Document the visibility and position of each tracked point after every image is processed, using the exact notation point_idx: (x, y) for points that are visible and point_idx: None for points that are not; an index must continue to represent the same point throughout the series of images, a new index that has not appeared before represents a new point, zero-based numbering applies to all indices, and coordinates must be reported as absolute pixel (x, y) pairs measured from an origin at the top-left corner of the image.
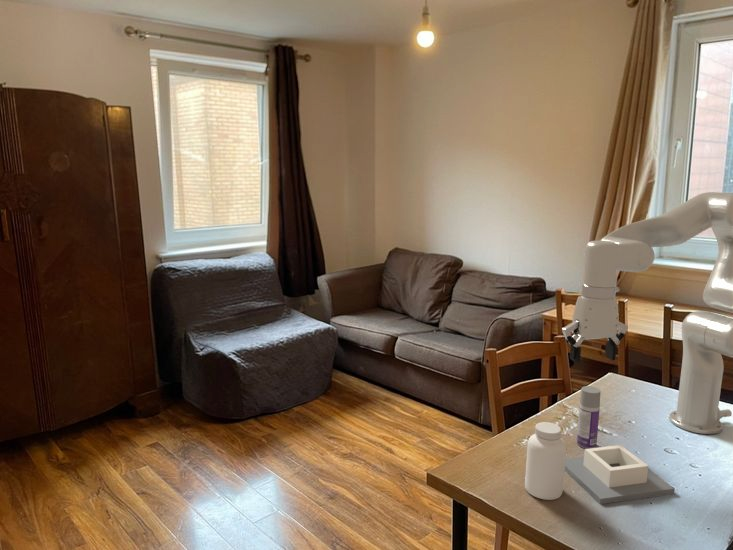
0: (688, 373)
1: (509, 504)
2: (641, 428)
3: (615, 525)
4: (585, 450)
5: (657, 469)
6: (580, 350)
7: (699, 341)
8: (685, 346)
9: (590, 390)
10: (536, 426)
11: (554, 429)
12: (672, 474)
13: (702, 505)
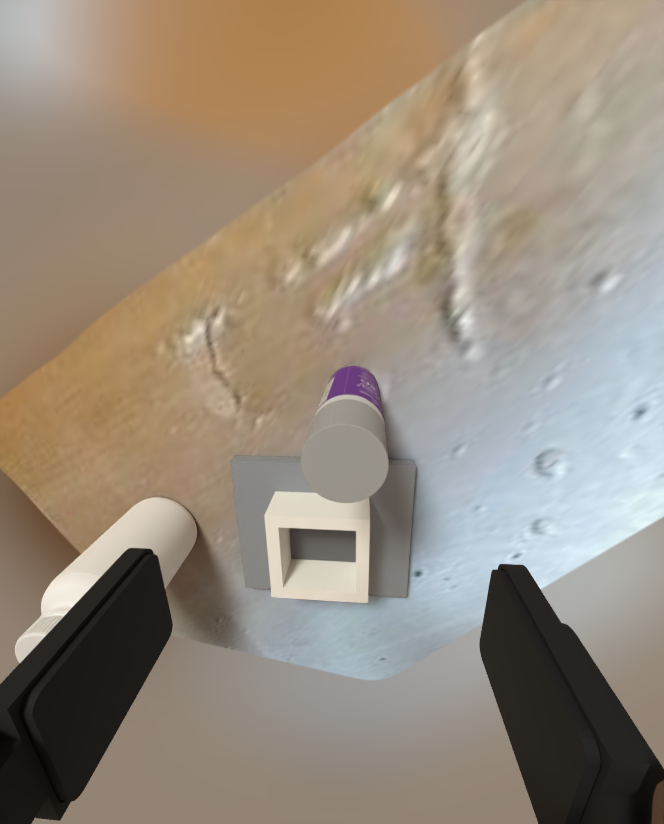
0: None
1: None
2: (592, 334)
3: (244, 622)
4: (265, 517)
5: (443, 520)
6: (95, 762)
7: None
8: None
9: (334, 474)
10: (15, 649)
11: None
12: (459, 542)
13: (426, 622)
